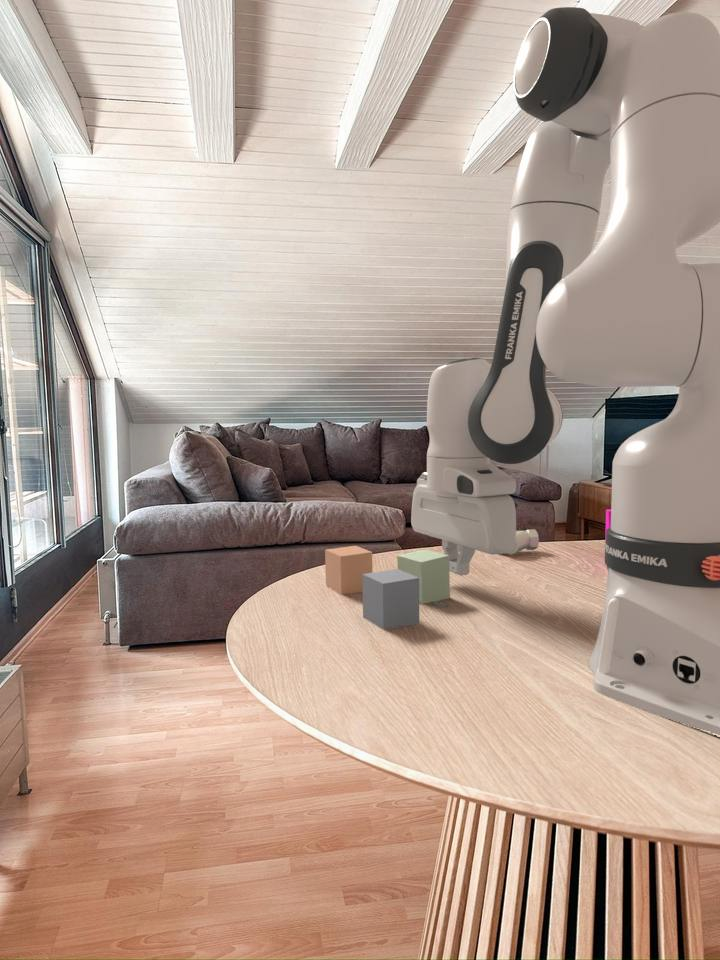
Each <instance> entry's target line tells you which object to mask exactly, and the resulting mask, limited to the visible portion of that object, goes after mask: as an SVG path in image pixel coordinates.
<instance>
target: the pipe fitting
mask: <svg viewBox="0 0 720 960" xmlns="http://www.w3.org/2000/svg"><path fill="white" fill-rule="evenodd" d="M539 544H540V538H539V534H538V531H537V530H536V529H534V528H532V529H526V530H516V540H515V545H514V547H513V548H512V550H511V551H510V552H508V553H506V554H508V555H514V554H517V553H519V552H522V551H523V550H526V551H534V550H537V549H538V547H539Z"/></svg>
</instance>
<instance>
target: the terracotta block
mask: <svg viewBox="0 0 720 960" xmlns="http://www.w3.org/2000/svg"><path fill="white" fill-rule="evenodd" d="M324 557H325V558H324V559H325V560H324V561H325V586H326V585H327V586H329V587H330V588H329V587H328V588H329V589H331V588H332V589H331V590H332V591H334V590H335V592H336V593H338V594H340V595H347V594H348V595H349V594H354V593H361V592H362V593H363V574H367V573H373V551H370V550H368V549H366V548H362V547H360V546H358V545H351V546H343V547H342V546H341V547H336V548H327V549H325V550H324ZM327 586H326V587H327Z"/></svg>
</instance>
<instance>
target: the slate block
mask: <svg viewBox="0 0 720 960" xmlns="http://www.w3.org/2000/svg"><path fill="white" fill-rule="evenodd" d="M362 617H363V618H364V619H366V620H367V621H369V622H370V623H371V624H373V625H376V626H377V627H379V628H381V629H382V630H389V629H394V628H400V627H405V626H413V625H416V624H417V625H418V624H420V603H419V578H418V577H416V576H413V575H411V574H408V573H406V572H403V571H401V570H399V569H398V568H395V569H389V570H387V569H386V570H381V571H375V572H372V573H367V574H363V592H362Z"/></svg>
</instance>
